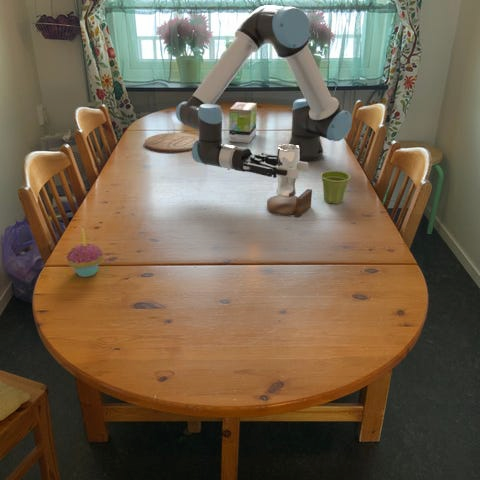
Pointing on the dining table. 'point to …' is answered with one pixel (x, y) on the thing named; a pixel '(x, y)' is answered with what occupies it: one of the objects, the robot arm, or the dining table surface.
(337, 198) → the plant pot
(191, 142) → the trivet
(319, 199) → the dining table surface
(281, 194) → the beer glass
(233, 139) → the tea box
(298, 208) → the walnut base
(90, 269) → the cupcake
